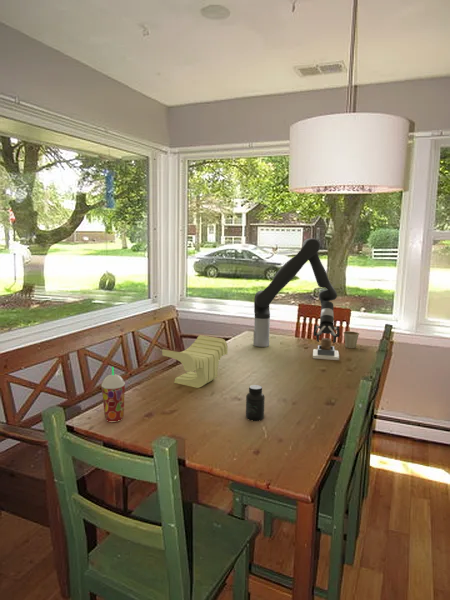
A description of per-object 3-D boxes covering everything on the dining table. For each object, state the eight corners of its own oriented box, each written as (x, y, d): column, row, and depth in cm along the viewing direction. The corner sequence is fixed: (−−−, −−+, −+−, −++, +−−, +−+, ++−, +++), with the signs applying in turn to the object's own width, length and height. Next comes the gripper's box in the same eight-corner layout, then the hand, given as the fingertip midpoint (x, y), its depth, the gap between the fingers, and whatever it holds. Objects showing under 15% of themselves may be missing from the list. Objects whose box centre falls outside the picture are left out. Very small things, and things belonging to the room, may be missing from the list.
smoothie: (116, 412, 164) (115, 362, 161) (130, 419, 159) (129, 366, 156) (97, 420, 158) (95, 367, 155) (111, 426, 153) (110, 372, 149)
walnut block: (321, 353, 241) (321, 339, 240) (320, 351, 245) (321, 338, 244) (330, 354, 240) (331, 340, 239) (330, 352, 244) (330, 338, 243)
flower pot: (339, 345, 264) (339, 332, 263) (351, 344, 268) (352, 330, 267) (349, 349, 256) (350, 335, 254) (361, 348, 260) (362, 334, 258)
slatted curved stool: (193, 395, 182) (193, 354, 180) (162, 388, 190) (162, 349, 187) (227, 375, 208) (227, 339, 206) (199, 369, 216) (199, 335, 213)
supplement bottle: (252, 412, 166) (253, 382, 164) (267, 417, 162) (268, 386, 160) (242, 418, 161) (242, 387, 159) (257, 423, 157) (257, 391, 155)
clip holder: (312, 358, 238) (313, 350, 237) (313, 351, 251) (313, 343, 250) (339, 360, 235) (339, 352, 234) (337, 353, 248) (338, 345, 247)
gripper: (314, 313, 249) (313, 337, 240) (340, 315, 246) (339, 339, 237) (314, 320, 255) (313, 344, 246) (339, 322, 252) (338, 346, 243)
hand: (326, 342), depth 241 cm, fingers open, 8 cm apart
